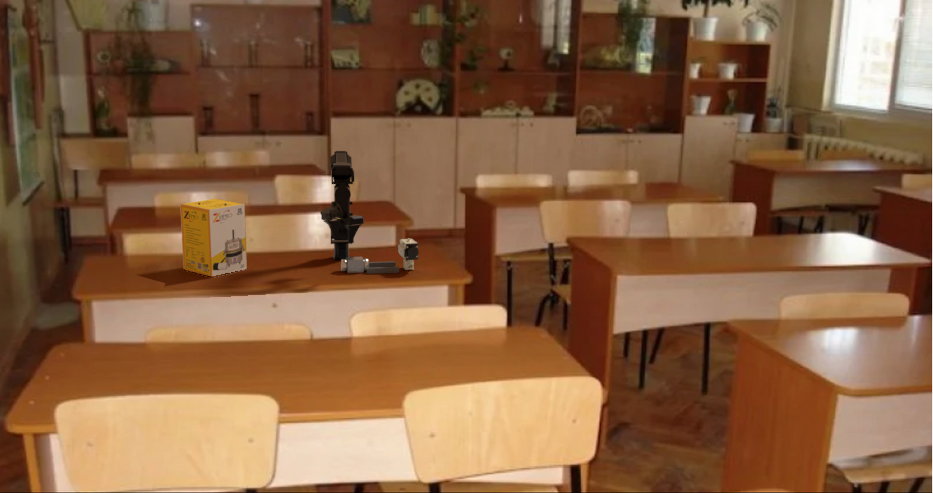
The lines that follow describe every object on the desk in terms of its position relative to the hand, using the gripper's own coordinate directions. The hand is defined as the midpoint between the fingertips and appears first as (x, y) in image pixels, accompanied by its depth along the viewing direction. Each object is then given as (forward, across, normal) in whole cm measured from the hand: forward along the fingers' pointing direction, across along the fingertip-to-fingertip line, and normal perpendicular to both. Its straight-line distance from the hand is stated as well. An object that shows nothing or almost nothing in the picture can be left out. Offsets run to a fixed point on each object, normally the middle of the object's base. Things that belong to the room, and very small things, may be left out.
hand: (342, 241), depth 329 cm
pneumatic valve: (+12, +9, +24) cm, 28 cm away
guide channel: (+12, +4, +15) cm, 20 cm away
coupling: (+12, -2, +7) cm, 14 cm away
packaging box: (+12, -35, -32) cm, 50 cm away
